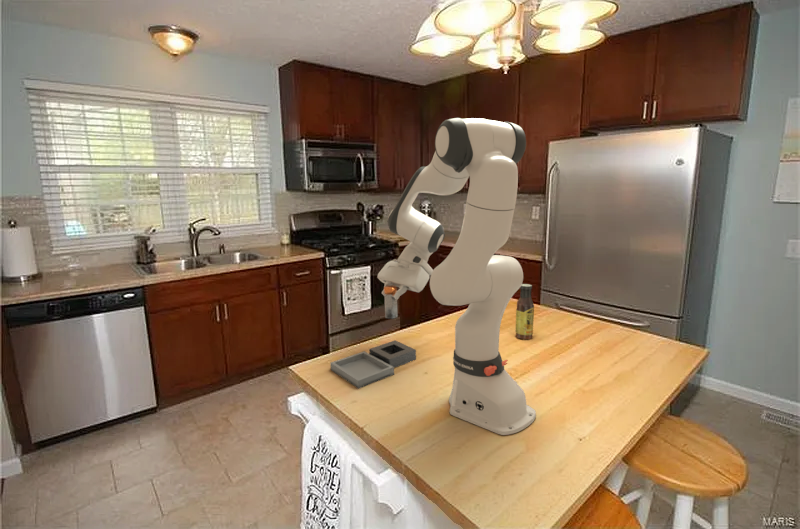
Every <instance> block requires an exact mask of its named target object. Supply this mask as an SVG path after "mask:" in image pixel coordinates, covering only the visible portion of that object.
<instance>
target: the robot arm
mask: <svg viewBox="0 0 800 529" xmlns="http://www.w3.org/2000/svg"><path fill="white" fill-rule="evenodd" d="M434 139H435V140H434V149H435V151H434V154H433V157H432V159H431V161H430V163H429V164H428V165H427V166H421V167H419V168H418V169H417V170H416V171H415V172H414V173H413V175H412V176H411V178H410V180H409V181H408V183H407V185H406V187H405V188H404V190H403V192H402V193H401V196H400V198H399V200H398V201H397V202H396V204H395V206H394V208H393V209H392V210H391V211H390V213H389V215H388V217H387V220H386V221H387V228H388V229H389V231H390V232H391V233H393V234H395V235H397V236H400V237H402V238H403V239H405V240H407V241H409V243H408V244H407V245H406V246H405V247H404V249H403V251H402V252H401V253H400V254H399V256H398V258H397V259H396V258H394V259H392V260H389V261H388V262H387V263H385V264H384V266H383V267H382V268H381V270H380V271H378V273H377V277H376V278H377V279H378V280H379V281H380V282H381V283H383V284H384V286H383V288H384V287H385V286H389V285H393V286H396V288H398V290H397V291H396V292H394V293H393V295H392V297H393V298H394V299H396V300H397V301H398V299H400V296H402V295H404V294H405V293H406V292H407V291H411V292H415V293H420V292H422V291H423V290H424V288H425V286H427V284H428V282H429V288H430V289H429V290H430V292H431V295H432V297H433V298H434V299H435V300H436V302H438V303H439V304H440V305H442V306H465V305H468V307H467V308H466V309H465V311H464V312H463V313H462V314H461V315H460V316H459V317H458V318H457V320H456V322H455V325H454V332H455V334H454V342H455V343H454V344H455V346H454V347H455V348H454V350H453V357H452V360H453V362H452V363H453V367H454V373H453V381H452V388H451V391H450V395H449V398H448V402H449V405H450V408H449V414H450V415H451V416H453V417H455V418H459V419H460V420H463V421H465V422H468V423H471V424H473V425H475V426H477V427H480V428H483V429H484V430H485V429H486V430H488V431H490V432H493V433H495V434H498V435H501V436H507V435H513V434H516V433H518V432H521V431H522V430H525V429H526V428H527V427H528V426H530V425H532V423H533V422H535V419H536V416H537V413H536V410H535V409H534V408H532V407H531V406H530V405H528V404H527V399H526V393H525V391H524V389H522V387H521V386H520V385H519V384H518V382H517V381H516V380H514V378H513V377H512V376H511V375H510V374H509V372H507V370H506V369H505V366H506V365H507V364H509V363H508V359H505V360H503V358H502V356H501V352H500V351H499V346H500V345H499V344H500V329H501V324H502V319H503V316H504V313H505V311H506V309H507V306H508V305H509V302H510V301H511V298H513V296H514V295H515V293H517V291H518V290H520V287H521V285H522V284H523V281H524V272H523V268H522V265H521V263H520V262H519V261H518V260H517V259H516V258H514V257H512V256H510V255H509V256H508V255H501V254H500V255H499V254H495V253H497V251H498V250H499V249H501V248H503V246H504V245H505V244H506V243H507V242H508V240H509V237H510V236H511V235H510V234H511V229H512V224H513V220H514V213H515V209H516V203H517V194H518V183H519V174H518V173H519V172H518V166H517V164H518V163H519V162H520V161H521V160H522V158H523V157H524V154H525V151H526V148H527V138H526V134H525V131H524V130H523V128H522V127H521V126H520V125H518V124H516V123H513V122H509V121H504V122H503V121H498V120H492V119H486V118H480V117H479V118H476V117H475V118H474V117H471V118H461V117H454V118H449V119H445V120H444V121H442V123H441V124H440V125H439V127H438V128H437V131H436V134H435V138H434ZM468 179H469V185H468V186H469V187H468V191H467V196H466V203H465V210H464V215H463V221H462V224H461V225H462V226H461V229H460V233H459V236H458V239H457V240H456V242H455V243H454V246H453V247H452V249H451V250H450V253H449V254H448V255H447V256H446V258H445V259H444V260H443V261H442V262H441V263H440V264H438V265H437V266H435V267H434V269H433V268H432V267H431V266H430V264H429V263H428V261H429V258H430V256H431V255H432V254H434V253H435V252H437V251H438V249H439V247H440V246H441V244H442V243H443V241H444V239H445V237H446V236H445V233H446V232H445V228H444V226H443V225H442V223H441V222H439V221H438V220H436V219H434V218H431V217H430V216H428V215H426V214H424V213H422V212H421V211H419V210H417V209H416V208H414V206H413V203H414V202H415V200H416V199H417V197H418V195H419V194H422V193H423V194H432V195H437V196H450V195H454V194H456V193H457V192H459V191H461V190H462V189H463V188H464V186H465V185H466V183H467V181H468ZM381 294H382V295H383V296H384V289H383V290H382V291H381Z"/></svg>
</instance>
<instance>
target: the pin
mask: <svg viewBox="0 0 800 529" xmlns="http://www.w3.org/2000/svg"><path fill="white" fill-rule="evenodd" d="M397 288H398V287H396V286H393V285H389V286H385V287H384V286H383V290H384V295H383V297H384V314H385V315H384V316H385V317H384V318H385V319H389V320H394V319H398V316H399V314H398V300H396V299H394V298H393V297H392V295H393V293H394V292H396V291H398V290H397Z"/></svg>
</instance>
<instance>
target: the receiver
mask: <svg viewBox="0 0 800 529" xmlns="http://www.w3.org/2000/svg"><path fill="white" fill-rule="evenodd" d="M368 350H369V352H368V353H369V354H371V355H372V356H374V357H376V358H378V359H380V360H382V361H384V362H385V363H387V364H389V365H391V366H393V367H394V369H395V367H396V368H398V367H400V365H401V366H403V365H405V364H408V363H410V361H411V362H414V361H416V360H417V349H416V348H413V347H412V346H411V347H410V346H408V345H406V344H404V343H402V342H401V341H398V340H395V339H394V340H392V341H389V342H385V343H383V344H380V345H377V346H374V347H370V348H369V349H368ZM413 360H414V361H413Z"/></svg>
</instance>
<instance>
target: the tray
mask: <svg viewBox="0 0 800 529" xmlns="http://www.w3.org/2000/svg"><path fill="white" fill-rule="evenodd" d="M329 365H330V370H331V371H332V372H333V373H334V374H336V375H338V376H339V377H340V378H342V379H344V380H345V381H346V382H348V383H349V384H351V385H352V386H354V387H355V388H357V389H359V390H360V389H361V388H364V387H367V386H369V385H372V384H375V383H377V382H379V381H381V380H384V379H386V378H388V377H392V376H394V375H395V368H394V367H393V366H391V365H389V364H387V363H385V362H384V361H382V360H380V359H378V358H376V357H374V356H372V355H371V354H370V353H369V352H367V351H365V350H364V351H361V352H358V353H355V354H352V355H348V356H346V357H343V358H340V359H337V360H334V361H331V362H330V364H329Z"/></svg>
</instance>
